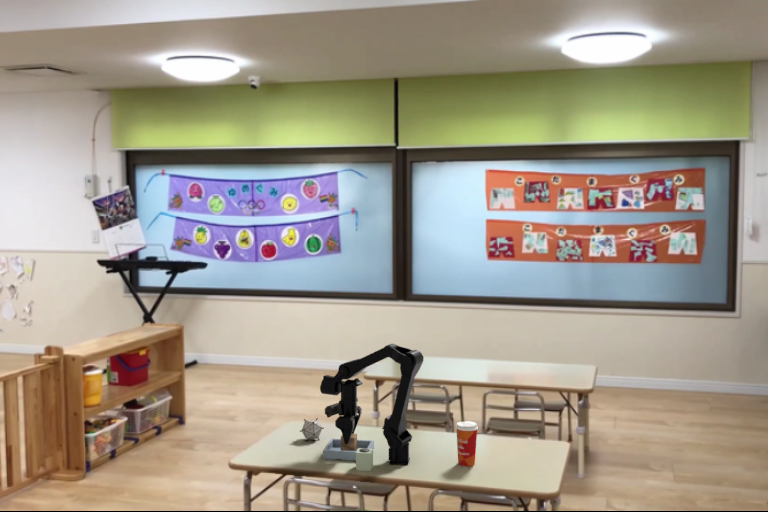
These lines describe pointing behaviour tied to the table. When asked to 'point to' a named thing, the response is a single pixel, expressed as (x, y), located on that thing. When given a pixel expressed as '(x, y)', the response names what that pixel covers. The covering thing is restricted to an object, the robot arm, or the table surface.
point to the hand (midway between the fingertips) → (348, 439)
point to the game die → (311, 429)
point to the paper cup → (466, 443)
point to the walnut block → (349, 443)
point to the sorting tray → (335, 451)
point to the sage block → (364, 459)
